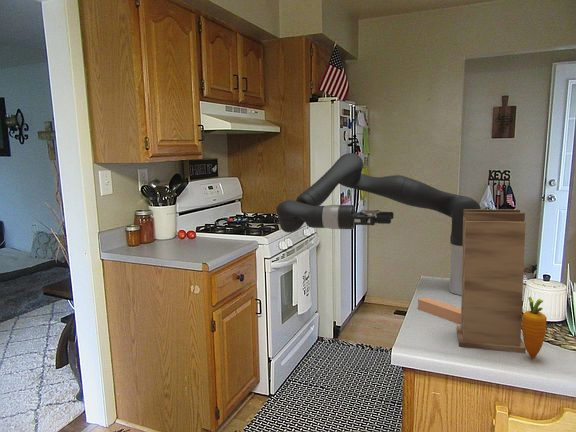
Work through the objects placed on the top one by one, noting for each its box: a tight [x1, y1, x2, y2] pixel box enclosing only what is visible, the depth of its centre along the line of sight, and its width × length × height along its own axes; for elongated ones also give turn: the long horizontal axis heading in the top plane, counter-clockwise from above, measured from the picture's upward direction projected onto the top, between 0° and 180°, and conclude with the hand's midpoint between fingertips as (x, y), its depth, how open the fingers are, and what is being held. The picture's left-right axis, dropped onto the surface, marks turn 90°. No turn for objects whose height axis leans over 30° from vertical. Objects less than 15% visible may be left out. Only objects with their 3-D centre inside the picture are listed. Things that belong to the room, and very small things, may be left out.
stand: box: [456, 208, 527, 354], centre depth 109 cm, size 11×15×34 cm
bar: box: [417, 296, 461, 325], centre depth 127 cm, size 4×22×4 cm, turn 32°
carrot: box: [521, 296, 547, 359], centre depth 100 cm, size 5×5×15 cm
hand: (392, 217), depth 128 cm, fingers open, 8 cm apart
